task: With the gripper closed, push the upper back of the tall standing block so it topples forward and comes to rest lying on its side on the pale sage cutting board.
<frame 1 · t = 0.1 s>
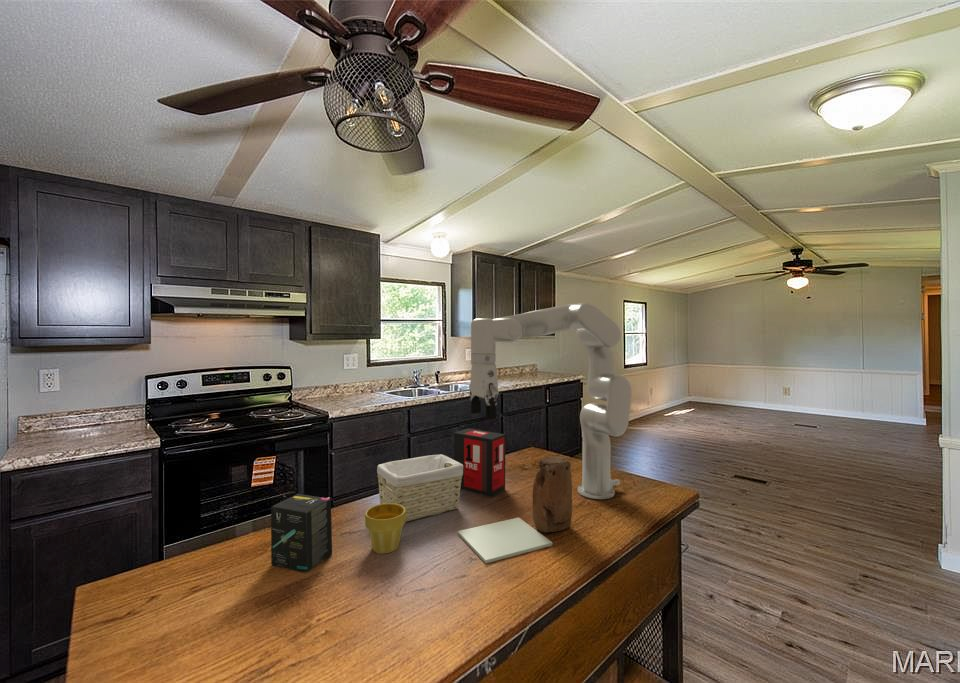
hand: (483, 415, 130), 31 cm above the counter, tool pointing down, fingers open, 9 cm apart
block: (551, 528, 124), on the counter
cutting board: (503, 539, 117), on the counter
cleaning product box: (479, 489, 155), on the counter
tampon box: (302, 561, 106), on the counter
storage basket: (420, 510, 137), on the counter
plant pot: (385, 548, 113), on the counter
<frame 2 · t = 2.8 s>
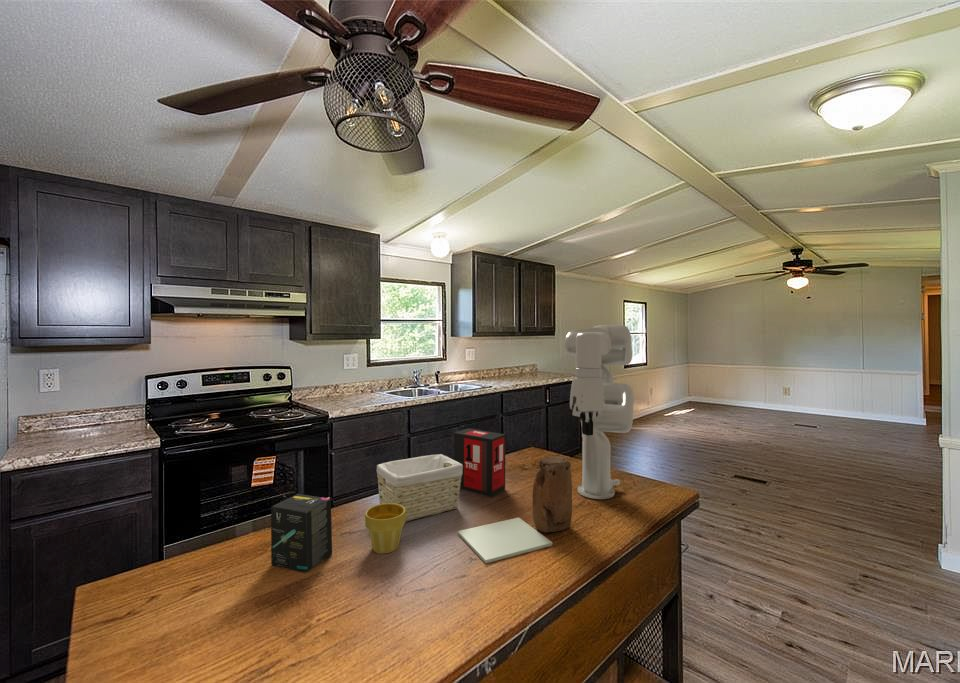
hand: (587, 434, 129), 26 cm above the counter, tool pointing down, fingers closed
nothing on the counter moved.
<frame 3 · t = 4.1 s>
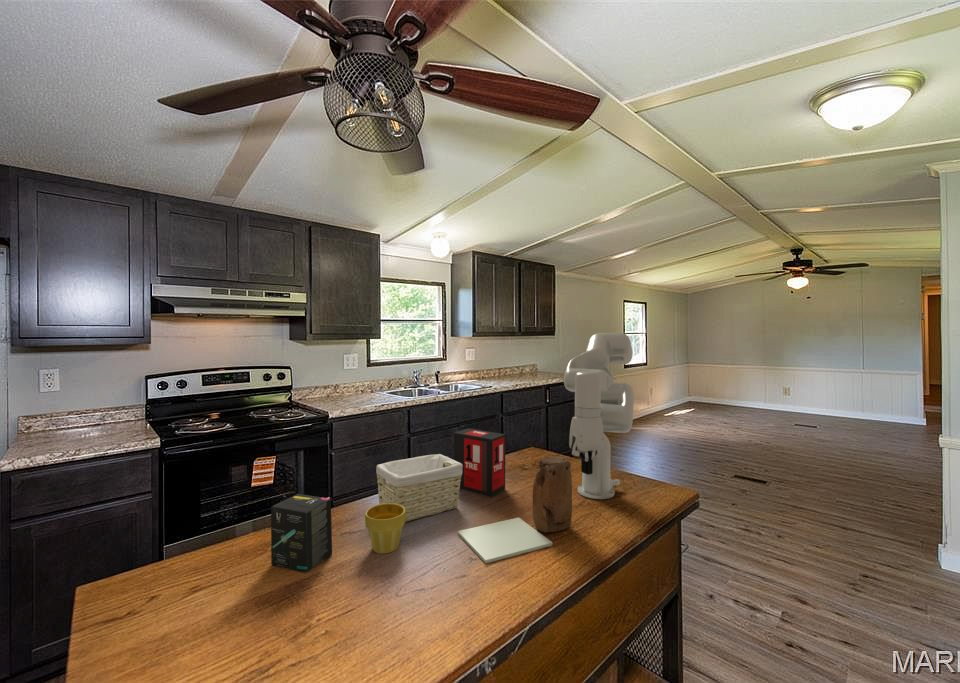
hand: (586, 472, 130), 14 cm above the counter, tool pointing down, fingers closed
nothing on the counter moved.
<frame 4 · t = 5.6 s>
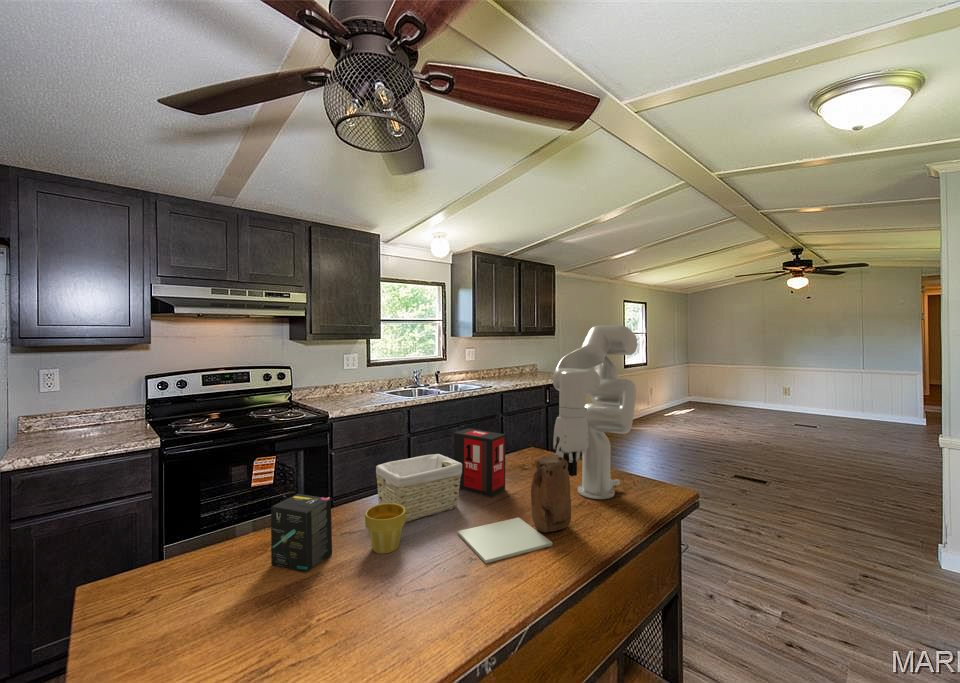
hand: (571, 474, 127), 15 cm above the counter, tool pointing down, fingers closed
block: (551, 527, 124), on the counter, touching gripper
everything else where it was.
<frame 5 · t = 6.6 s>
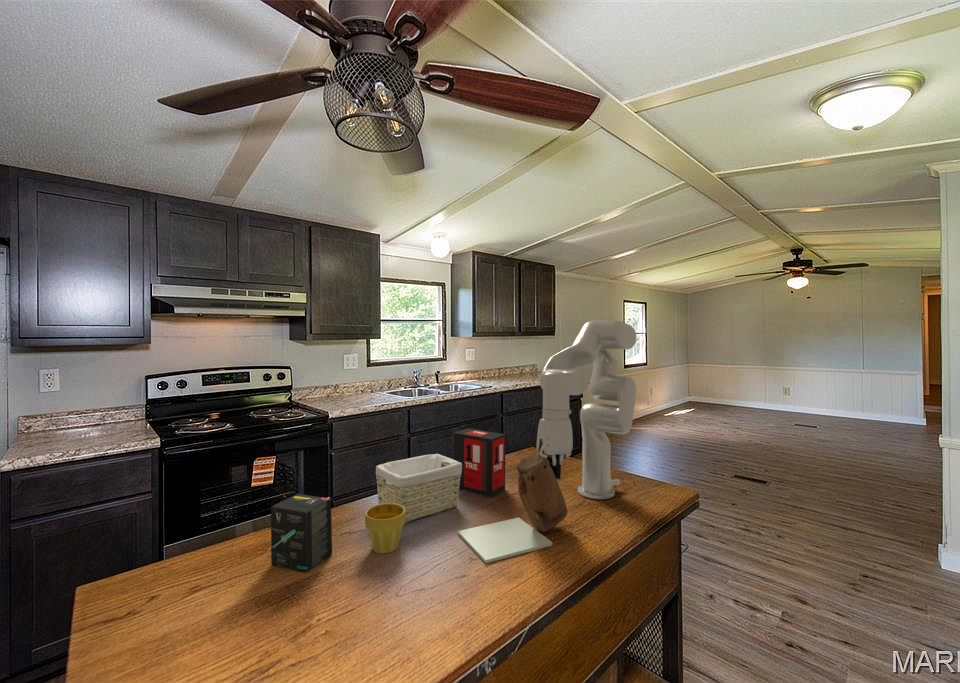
hand: (554, 477, 124), 15 cm above the counter, tool pointing down, fingers closed
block: (550, 521, 124), point 2 cm above the counter, touching gripper
everything else where it was.
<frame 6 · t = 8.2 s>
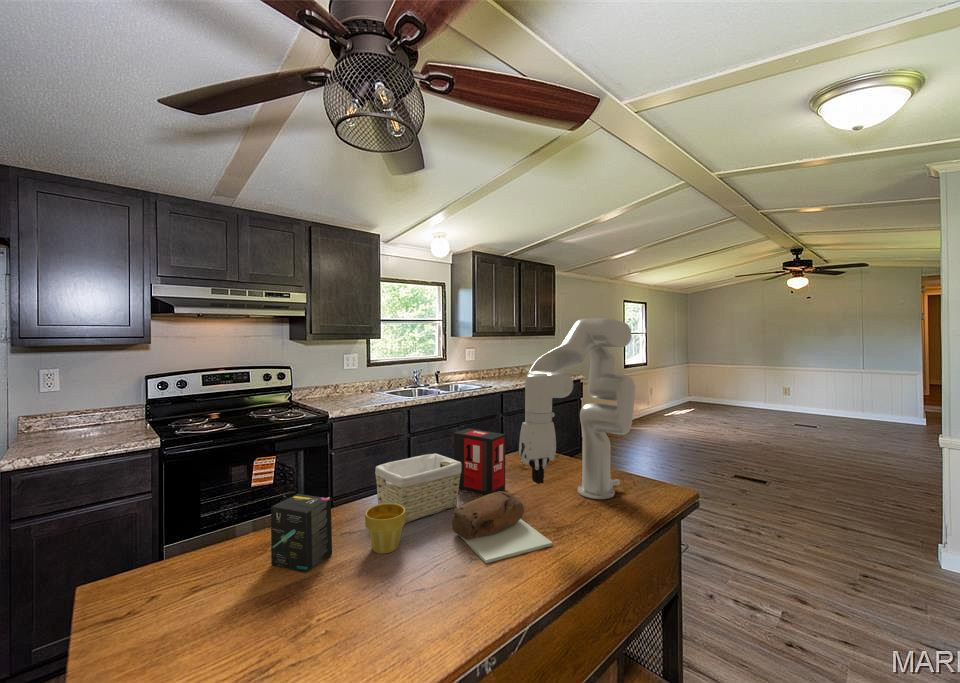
hand: (537, 481, 122), 14 cm above the counter, tool pointing down, fingers closed
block: (512, 504, 130), point 5 cm above the counter, touching cutting board
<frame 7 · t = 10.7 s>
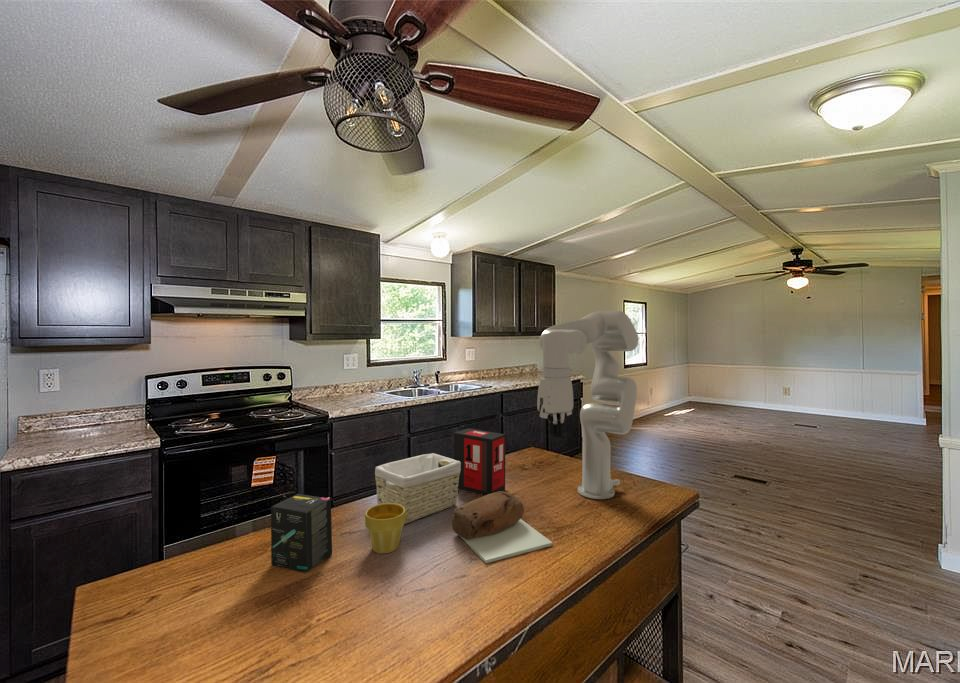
hand: (556, 436, 124), 26 cm above the counter, tool pointing down, fingers closed
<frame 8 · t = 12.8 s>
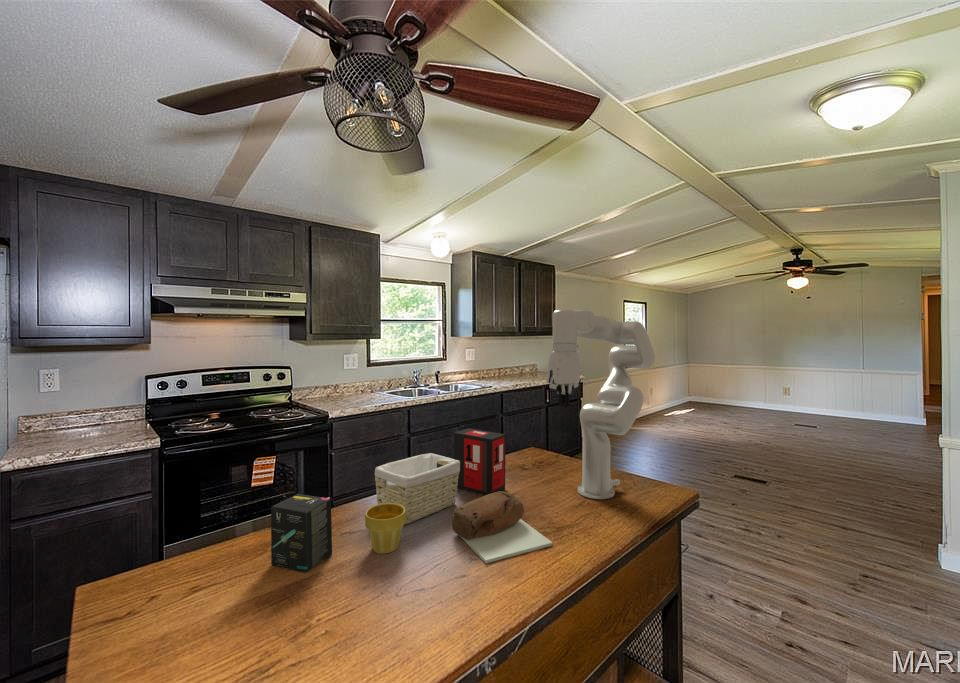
hand: (563, 406, 136), 33 cm above the counter, tool pointing down, fingers closed
at the end: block tilted 91°; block inside the target area (11.7 cm from its centre), point 4.6 cm above the counter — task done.
